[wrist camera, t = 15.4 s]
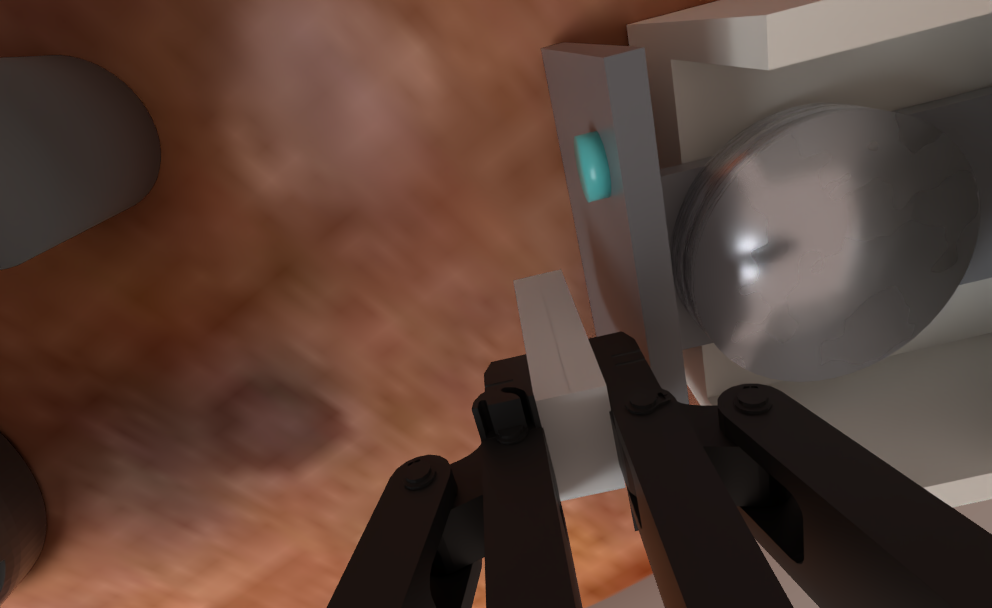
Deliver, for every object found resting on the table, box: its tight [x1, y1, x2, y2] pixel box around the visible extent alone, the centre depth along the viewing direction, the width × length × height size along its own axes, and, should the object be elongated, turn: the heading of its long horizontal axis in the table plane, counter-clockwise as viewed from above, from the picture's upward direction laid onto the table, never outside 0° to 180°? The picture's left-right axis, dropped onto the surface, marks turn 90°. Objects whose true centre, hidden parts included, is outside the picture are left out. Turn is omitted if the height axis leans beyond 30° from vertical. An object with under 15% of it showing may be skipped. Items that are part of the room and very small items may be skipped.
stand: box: [0, 55, 161, 270], centre depth 19 cm, size 6×6×6 cm
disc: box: [671, 102, 980, 382], centre depth 17 cm, size 8×8×2 cm
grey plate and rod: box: [541, 42, 992, 404], centre depth 18 cm, size 18×14×10 cm
